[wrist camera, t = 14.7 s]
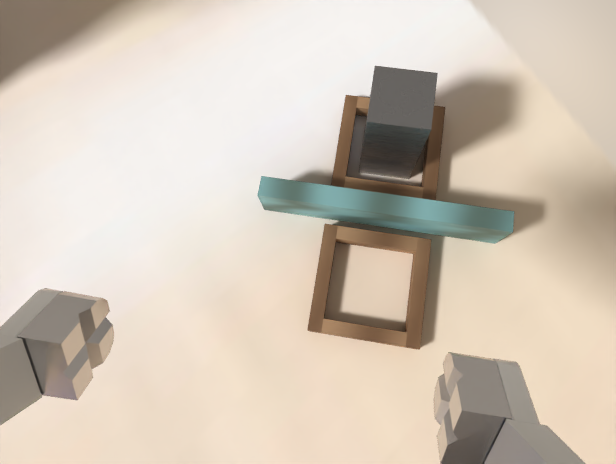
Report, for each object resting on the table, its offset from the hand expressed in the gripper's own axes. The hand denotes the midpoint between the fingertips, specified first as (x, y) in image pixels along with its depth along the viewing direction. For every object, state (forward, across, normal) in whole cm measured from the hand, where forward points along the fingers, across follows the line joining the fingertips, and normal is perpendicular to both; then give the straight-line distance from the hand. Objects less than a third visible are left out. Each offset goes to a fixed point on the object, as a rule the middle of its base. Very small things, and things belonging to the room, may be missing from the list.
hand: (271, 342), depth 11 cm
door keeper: (+24, -4, +9) cm, 26 cm away
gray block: (+28, -4, +6) cm, 29 cm away
